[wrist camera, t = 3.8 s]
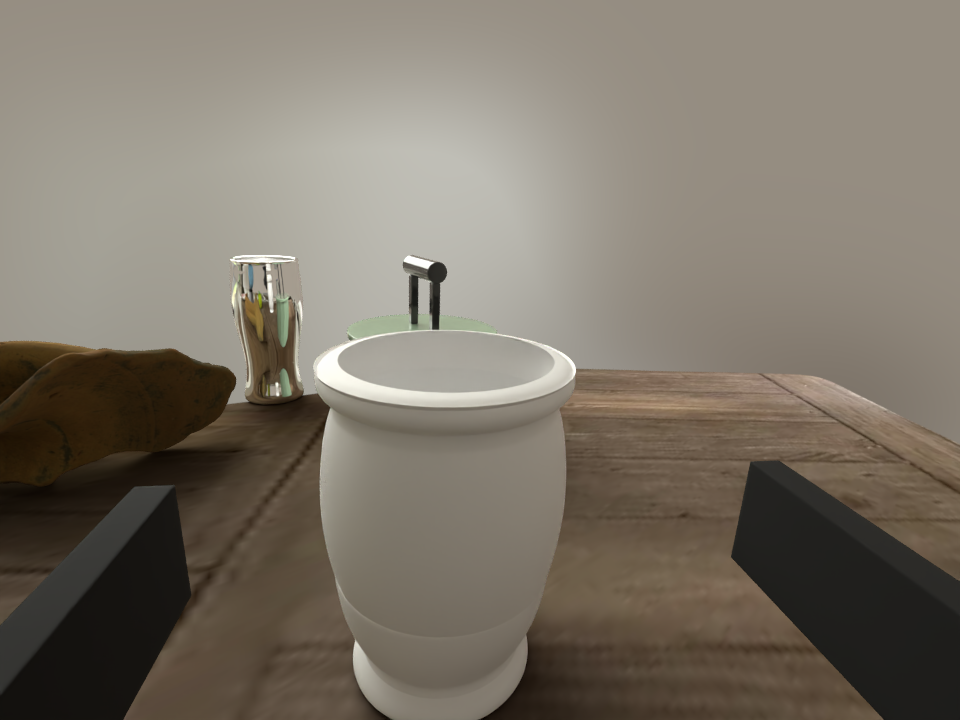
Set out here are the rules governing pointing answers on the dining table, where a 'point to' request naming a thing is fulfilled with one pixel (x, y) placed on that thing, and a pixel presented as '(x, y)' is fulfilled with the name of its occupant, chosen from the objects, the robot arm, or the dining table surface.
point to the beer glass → (268, 325)
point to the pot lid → (413, 320)
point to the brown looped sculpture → (98, 405)
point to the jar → (442, 510)
